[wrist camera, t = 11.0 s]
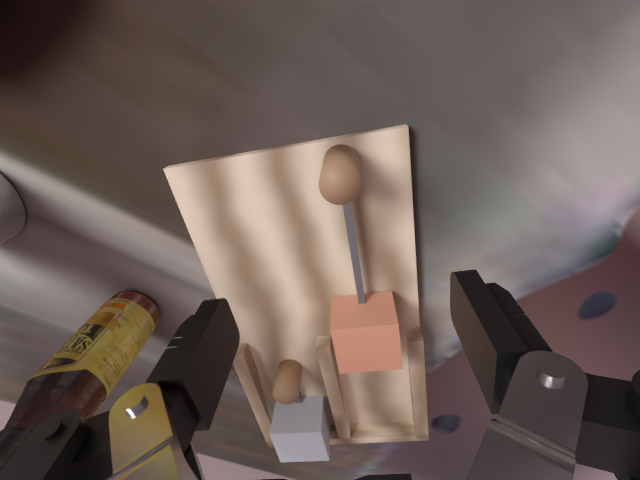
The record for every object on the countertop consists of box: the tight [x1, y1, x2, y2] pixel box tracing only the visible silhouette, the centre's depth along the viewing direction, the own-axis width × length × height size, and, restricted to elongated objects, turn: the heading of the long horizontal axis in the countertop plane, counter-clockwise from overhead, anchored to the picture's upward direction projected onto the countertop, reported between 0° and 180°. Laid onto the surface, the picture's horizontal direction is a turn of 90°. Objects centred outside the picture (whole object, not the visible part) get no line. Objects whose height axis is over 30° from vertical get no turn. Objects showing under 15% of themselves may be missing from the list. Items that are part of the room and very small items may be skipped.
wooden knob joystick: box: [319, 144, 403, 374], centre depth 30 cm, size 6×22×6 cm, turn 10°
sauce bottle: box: [0, 291, 160, 471], centre depth 31 cm, size 6×6×20 cm
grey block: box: [269, 359, 331, 462], centre depth 42 cm, size 6×13×5 cm, turn 10°
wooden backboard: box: [163, 124, 429, 447], centre depth 38 cm, size 22×40×3 cm, turn 10°
